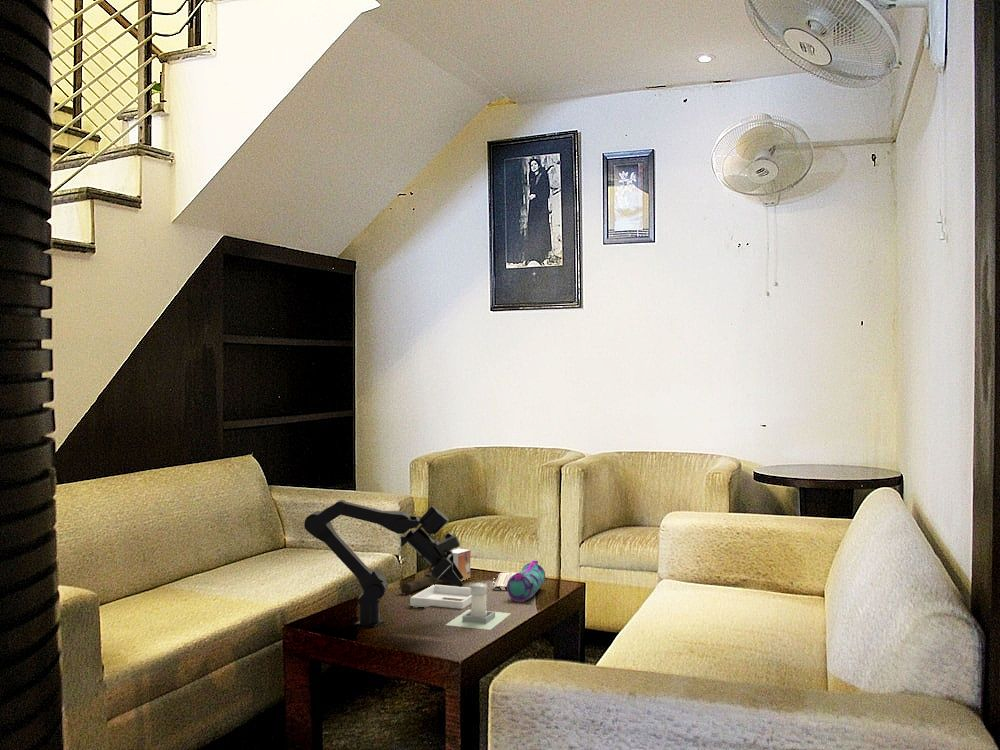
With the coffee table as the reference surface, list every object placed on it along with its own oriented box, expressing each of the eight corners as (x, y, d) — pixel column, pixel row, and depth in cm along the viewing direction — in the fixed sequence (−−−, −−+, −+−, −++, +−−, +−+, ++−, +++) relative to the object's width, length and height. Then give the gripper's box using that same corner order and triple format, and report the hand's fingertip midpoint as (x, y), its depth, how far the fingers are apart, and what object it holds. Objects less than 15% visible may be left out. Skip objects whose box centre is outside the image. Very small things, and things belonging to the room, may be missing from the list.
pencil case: (533, 604, 273) (532, 574, 273) (506, 602, 275) (506, 572, 275) (546, 588, 293) (546, 560, 293) (521, 587, 295) (521, 559, 295)
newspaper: (494, 577, 312) (495, 570, 312) (527, 581, 311) (528, 574, 311) (487, 592, 290) (488, 584, 290) (522, 596, 288) (523, 589, 288)
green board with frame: (490, 633, 241) (490, 624, 241) (445, 628, 245) (445, 619, 245) (511, 616, 258) (511, 608, 258) (468, 612, 262) (468, 604, 262)
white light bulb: (483, 621, 248) (483, 587, 249) (468, 620, 250) (468, 586, 250) (489, 617, 253) (489, 584, 253) (474, 616, 255) (474, 582, 255)
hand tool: (409, 595, 284) (409, 581, 284) (400, 594, 286) (400, 580, 286) (443, 584, 300) (443, 571, 300) (434, 583, 302) (434, 570, 302)
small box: (457, 583, 301) (457, 553, 301) (445, 581, 304) (445, 551, 304) (470, 578, 308) (470, 549, 308) (458, 576, 311) (458, 548, 311)
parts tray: (462, 611, 263) (462, 602, 263) (410, 606, 269) (410, 597, 269) (483, 597, 280) (483, 588, 280) (433, 593, 286) (433, 584, 286)
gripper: (442, 531, 242) (481, 569, 242) (444, 520, 261) (481, 556, 261) (415, 559, 242) (454, 597, 242) (419, 546, 260) (455, 582, 261)
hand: (462, 582), depth 251 cm, fingers open, 9 cm apart
